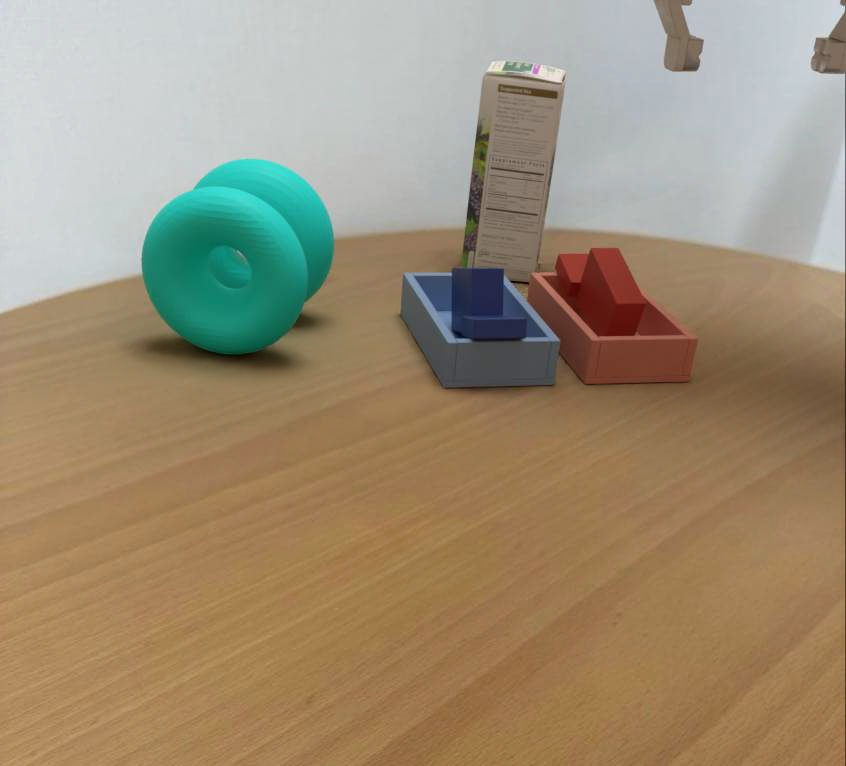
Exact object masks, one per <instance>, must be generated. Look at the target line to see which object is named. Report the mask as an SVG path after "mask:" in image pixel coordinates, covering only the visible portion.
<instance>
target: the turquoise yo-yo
mask: <svg viewBox="0 0 846 766" xmlns="http://www.w3.org/2000/svg"><path fill="white" fill-rule="evenodd" d="M141 249H142V250H141V273H142V274H141V275H142V278H143V279H142V280H143V283H144V286H145V290H146V293H147V295H148V298H149V299H150V302H151V304H152V306H153V307H154V309H155V310H156V312H157V314H158V315H159V316H160V318H161V319H162V320H163V321H164V323H165V324H166V325H167V326H168V327H169V328H170V329H171V330H172V331H173V332H175V333H176V334H177V335H178V336H180V337H181V338H183V340H185V341H187V342H188V343H191V344H192V345H194V346H196V347H198V348H200V349H203V350H205V351H208V352H212V353H216V354H222V355H232V356H233V355H246V354H251V353H256V352H258V351H261V350H264V349H266V348H268V347H270V346H272V345H273V344H275V343H276V342H278V341H280V339H282V338H283V337H284V336H285V335H287V334H288V332H289V331H290V330H291V329H292V327H293V326H294V325H295V323H296V322H297V320H298V319H299V317H300V315H301V313H302V311H303V308H304V306H305V304H306V303H307V302H308V301H310V300H311V299H312V298H313V297H314V296H315V295H316V294H317V293H318V291H319V290H320V289H321V287H322V286H323V284H324V283H325V281H326V280H327V278H328V275H329V273H330V270H331V269H332V268H331V267H332V265H333V260H334V255H335V254H334V253H335V237H334V228H333V225H332V219H331V217H330V214H329V211H328V209H327V207H326V205H325V203H324V202H323V200H322V198H321V197H320V195H319V194H318V193H317V192H316V190H315V189H314V187H312V185H311V184H310V183H309V182H308V181H307V180H305V179H304V178H303V177H302V176H301V175H299V174H298V173H296V172H295V171H294V170H292V169H290V168H288V167H287V166H285V165H283V164H280V163H278V162H274V161H271V160H266V159H260V158H240V159H235V160H231V161H228V162H227V161H226V162H225V163H222V164H220V165H218V166H216V167H215V168H213V169H212V170H210V171H209V172H207V173H206V174H205V175H204V176H202V177H201V179H199V180H198V182H197V183H196V184H195V186H193V188H192V189H191V190H188V191H186V192H183V193H181V194H179V195H177V196H176V197H174V198H173V199H171V200H170V201H169V202H168V203H166V204H165V205H164V206H163V207H162V208H161V209H160V210H159V211H158V212H157V214H156V215H155V216H154V218H153V219H152V221H151V223H150V225H149V227H148V229H147V231H146V234H145V236H144V240H143V244H142V248H141Z"/></svg>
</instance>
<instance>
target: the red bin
mask: <svg viewBox="0 0 846 766" xmlns="http://www.w3.org/2000/svg"><path fill="white" fill-rule="evenodd" d="M636 284H637V286H638V288H639V290H640V292H641V294H642V296H643V298H644V300H645V302H646V306H645V309H644V311H643V314H642V317H641V320H640V322H639V325H638V328H637V331H636V334H635V336H600V337H598V336H597V335H596V334H595V333H594V332H593V331H592V330H591V329H590V327H589V325H588V323H587V320H586V318H585V316H584V314H583V311H582V309H581V307H580V305H579V302H578V300H577V298H576V297H568V296H567V295H566V293H565V290H564V288H563V286H562V283H561V281H560V279H559V277H558V274H557V272H556V271H555V272H537V273H531V274H530V281H529V282H528V290H527V297H526V301H527V302H528V303H529V304H530V306H531V307H532V308H533V309H534V310H535V311H536V313H537V314H538V315H539V316H540V317H541V318H542V320H543V321H544V322H545V323H546V324H547V325H548V327H549V328H550V329H551V330H552V331H553V333H554V334H555V335H556V336H557V337H558V338H559V340H560V348H559V354H560V356H561V357H562V358H563V360H564V361H565V362H566V363H567V364H568V365H569V367H570V368H571V369H572V370H573V372H574V373H575V374H576V375H577V376H578V377H579V378H580V380H581V381H582V382H583V384H585V385H602V384H603V385H604V384H606V385H607V384H640V383H641V384H643V383H645V384H646V383H679V382H680V383H682V382H690V380H691V374H692V368H693V365H694V359H695V355H696V351H697V346H698V341H699V338H698V337H697V336H696V335H695V334H694V333H692V332H691V330H689V329H688V328H687V327H686V326H685V325H684V324H683V323H682V322H680V321H679V320H678V319H677V318H676V317H675V316H673V314H672V313H671V312H670V311H668V310H667V309H666V308H665V307H664V306H662V304H661V303H659V301H657V300H656V299H655V298H654V297H653V296H652V295H651V294H649V292H647V291H646V290H645V289H644V288H643V287H641V285H639V284H638V283H637V282H636Z"/></svg>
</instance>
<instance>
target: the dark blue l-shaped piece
mask: <svg viewBox="0 0 846 766" xmlns="http://www.w3.org/2000/svg"><path fill="white" fill-rule="evenodd" d="M451 273H452V322H451V329H452V330H453V331H457V332H461V333H462V336H465V337H469V338H472V339H525V338H526V328H527V319H526V318H523V317H518V316H512V315H506V316H503V296H504V268H461V267H451Z"/></svg>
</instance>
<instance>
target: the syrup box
mask: <svg viewBox="0 0 846 766" xmlns="http://www.w3.org/2000/svg"><path fill="white" fill-rule="evenodd" d="M567 74H568V73H567V72H566V71H565V69H561V68H557V67H553V66H549V65H545V64H540V63H535V62H534V63H533V62H527V61H519V60H517V61H516V60H497V61H496V60H493V61H491V63H490V64H489V66H488V68H487V69H486V71H485V73H484V74H483V75H482V80H481V88H480V97H479V105H478V106H479V107H478V114H477V124H476V132H475V140H474V149H473V157H472V165H471V166H472V167H471V172H470V173H471V176H470V183H469V190H468V191H469V192H468V200H467V201H468V203H467V209H466V219H465V227H464V237H463V244H462V255H461V263H460V268H504V275H505V276H506V277H507V279H508V280H509V281H512V282H513V281H514V282H522V283H523V282H524V283H529V281H530V274H531V273H538V267H539V261H540V258H541V257H540V256H541V251H542V244H543V239H544V231H545V226H546V225H545V224H546V218H547V211H548V205H549V198H550V191H551V184H552V178H553V171H554V165H555V158H556V150H557V144H558V137H559V129H560V122H561V116H562V110H563V104H564V97H565V96H564V95H565V88H566V81H567Z"/></svg>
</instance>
